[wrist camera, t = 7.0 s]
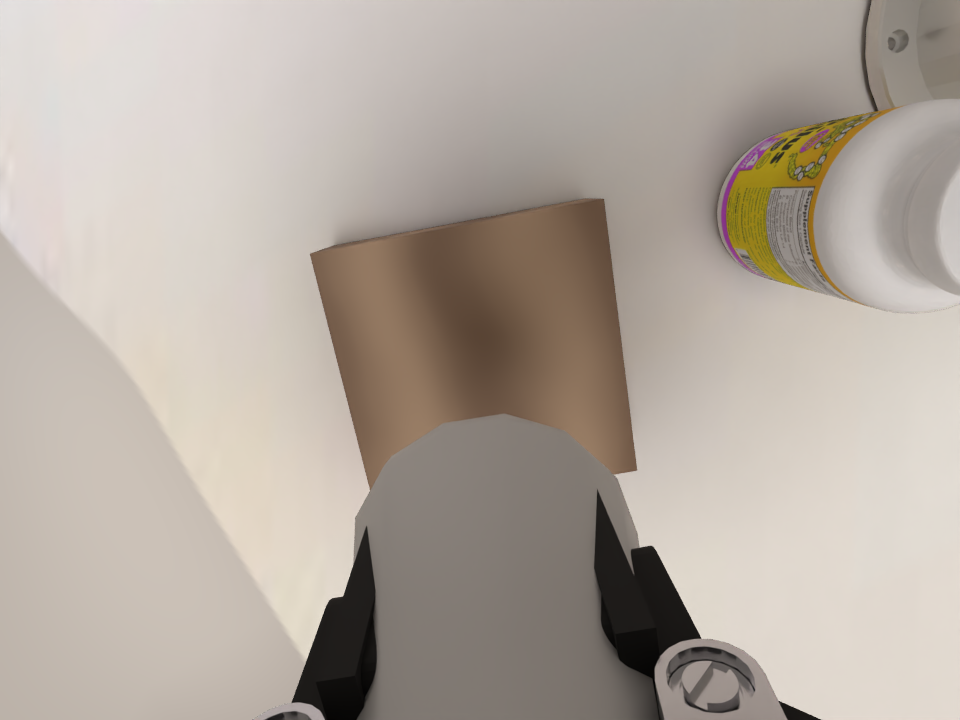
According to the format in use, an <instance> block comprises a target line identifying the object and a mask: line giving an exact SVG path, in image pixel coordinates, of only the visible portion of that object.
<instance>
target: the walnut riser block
mask: <svg viewBox="0 0 960 720" xmlns="http://www.w3.org/2000/svg"><path fill="white" fill-rule="evenodd" d="M310 256H311V260H312V264H313V268H314V272H315V276H316V280H317V283H318V287H319V291H320V295H321V299H322V303H323V307H324V311H325V315H326V319H327V323H328V327H329V331H330V334H331V338H332V342H333V346H334V350H335V354H336V358H337V362H338V366H339V370H340V374H341V378H342V382H343V385H344V389H345V393H346V397H347V401H348V405H349V409H350V413H351V417H352V421H353V425H354V429H355V433H356V436H357V440H358V444H359V448H360V452H361V456H362V460H363V464H364V468H365V472H366V476H367V480H368V484H369V487H370V490H371V488H372V487H373V485H374V483H375V481H376V479H377V478H378V476H379V474H380V472H381V470H382V468H383V467H384V465H385V464H386V463H387V461H388V460H389V459H390V457H391V456H393V455H394V454H396V453H397V452H399V451H400V450H402V449H404V448H405V447H407V446H408V445H410V444H411V443H413V442H415V441H416V440H418V439H419V438H421V437H422V436H424V435H425V434H427V433H429V432H430V431H432V430H433V429H435V428H436V427H438V426H440V425H441V424H443V423H448V422H454V421H461V420H467V419H473V418H480V417H486V416H492V415H499V414H508V415H512V416H515V417H519V418H522V419H526V420H529V421H533V422H536V423H540V424H543V425H547V426H550V427H554V428H557V429H561V430H564V431H566V432H567V433H568V434H569V435H570V436H571V437H573V438H574V439H575V440H576V441H577V442H578V443H579V444H581V445H582V446H583V447H584V448H585V449H586V450H587V451H588V452H590V453H591V454H592V455H593V456H594V457H595V458H596V459H597V460H599V461H600V462H601V463H602V464H603V465H604V466H605V467H607V468H608V469H609V470H610V471H611V473H612V474H619V473H625V472H631V471H637V466H636V458H635V450H634V442H633V434H632V425H631V417H630V409H629V401H628V393H627V384H626V376H625V368H624V360H623V352H622V343H621V335H620V327H619V319H618V311H617V302H616V294H615V286H614V278H613V270H612V262H611V253H610V245H609V237H608V229H607V221H606V212H605V204H604V199H581V200H576V201H570V202H565V203H560V204H554V205H549V206H544V207H538V208H533V209H528V210H522V211H517V212H512V213H506V214H501V215H496V216H490V217H485V218H480V219H474V220H469V221H464V222H458V223H453V224H448V225H442V226H437V227H432V228H426V229H421V230H416V231H410V232H405V233H400V234H394V235H389V236H384V237H378V238H373V239H368V240H362V241H357V242H352V243H346V244H341V245H336V246H331V247H328V248H325V249H322V250H320V251H317V252H314V253H311V254H310Z"/></svg>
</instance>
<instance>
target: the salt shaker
mask: <svg viewBox="0 0 960 720" xmlns="http://www.w3.org/2000/svg"><path fill="white" fill-rule="evenodd" d="M597 489H598V492H599V494H600V496H601V499H602V501H603V503H604V506H605V508H606V510H607V513H608V515H609V517H610V520H611V522H612V524H613V527H614V529H615V531H616V534H617V536H618V539H619V541H620V543H621V546H622V548H623V550H624V553H625V555H626V557H627V560H628V562H629V564H630V567H631V569H632V571H633V565H632V560H631V549H635V548H639V541H638V534H637V531H636V528H635V526H634V523H633V520H632V517H631V515H630V512H629V509H628V507H627V504H626V501H625V498H624V496H623V493H622V490H621V487H620V485H619V482H618V479H617V478H616V477H615V476H614V475H613V474H612V473H611V471H610V470H609V469H608V468H607V467H605V466H604V465H603V464H602V463H601V462H600V461H599V460H597V459H596V458H595V457H594V456H593V455H592V454H591V453H590V452H588V451H587V450H586V449H585V448H584V447H583V446H582V445H581V444H579V443H578V442H577V441H576V440H575V439H574V438H573V437H571V436H570V435H569V434H568V433H567V432H566V431H564V430H561V429H557V428H554V427H550V426H547V425H543V424H540V423H536V422H533V421H529V420H526V419H522V418H519V417H515V416H512V415H508V414H499V415H492V416H486V417H480V418H473V419H467V420H461V421H454V422H448V423H443V424H441V425H440V426H438V427H436V428H435V429H433V430H432V431H430V432H429V433H427V434H425V435H424V436H422V437H421V438H419V439H418V440H416V441H415V442H413V443H411V444H410V445H408V446H407V447H405V448H404V449H402V450H400V451H399V452H397V453H396V454H394V455H393V456H391V457H390V459H389V460H388V461H387V463H386V464H385V465H384V467H383V468H382V470H381V472H380V474H379V476H378V478H377V479H376V481H375V483H374V485H373V487H372V488H371V490H370V492H369V494H368V496H367V498H366V499H365V501H364V503H363V505H362V507H361V509H360V510H359V512H358V514H357V516H356V518H355V540H354V562H355V559H356V556H357V553H358V550H359V546H360V543H361V540H362V537H363V534H364V531H365V528H366V526H367V529H368V537H369V544H370V552H371V559H372V567H373V574H374V582H375V589H376V593H375V603H374V612H373V620H374V628H375V637H376V645H377V664H376V673H375V676H374V679H373V682H372V684H371V687H370V689H369V691H368V693H367V694H366V696H365V702H364V708H363V710H362V711H361V713H360V715H359V716H358V718H357V720H659V715H658V709H657V703H656V697H655V692H654V686H653V680H652V678H650V677H648V676H646V675H644V674H642V673H640V672H638V671H636V670H634V669H631V668H629V667H627V666H626V665H625V664H623V663H622V662H621V661H620V660H619V657H618V654H617V650H616V649H615V648H614V646H613V645H612V644H611V643H610V641H609V640H608V638H607V637H606V635H605V633H604V631H603V628H602V625H601V591H600V588H599V584H598V581H597V577H596V573H595V570H594V555H595V530H596V505H597ZM633 574H634V571H633Z"/></svg>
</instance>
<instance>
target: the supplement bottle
mask: <svg viewBox="0 0 960 720" xmlns="http://www.w3.org/2000/svg"><path fill="white" fill-rule="evenodd" d="M717 221H718V227H719V231H720V235H721V238H722V241H723V243H724V245H725V247H726V249H727V250H728V252H729V253H730V255H731V256H732V257H733V259H734V260H735V261H736V262H738V263H739V264H740V265H741V266H742V267H744V268H745V269H747V270H748V271H750V272H752V273H754V274H757V275H759V276H762V277H764V278H768V279H771V280H775V281H778V282H781V283H785V284H789V285H793V286H796V287H800V288H804V289H808V290H812V291H815V292H819V293H823V294H826V295H830V296H834V297H837V298H841V299H845V300H848V301H852V302H855V303H859V304H862V305H865V306H869V307H873V308H877V309H880V310H884V311H889V312H896V313H911V314H914V313H927V312H933V311H938V310H943V309H947V308H950V307H953V306H956V305H958V304H960V99H935V100H928V101H923V102H917V103H913V104H909V105H904V106H900V107H895V108H891V109H886V110H881V111H877V112H871V113H866V114H861V115H856V116H852V117H848V118H843V119H838V120H832V121H828V122H824V123H820V124H815V125H810V126H806V127H801V128H797V129H792V130H789V131H785V132H781V133H778V134H775V135H772V136H770V137H768V138H766V139H764V140H762V141H761V142H759V143H757V144H756V145H754V146H753V147H752V148H751V149H749V150H748V151H747V152H746V153H745V154H744V155H743V156H742V157H741V158H740V159H739V160H738V161H737V162H736V164H735V165H734V166H733V168H732V169H731V171H730V172H729V174H728V176H727V177H726V180H725V182H724V184H723V186H722V189H721V192H720V196H719V200H718V208H717Z"/></svg>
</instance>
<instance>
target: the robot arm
mask: <svg viewBox="0 0 960 720" xmlns="http://www.w3.org/2000/svg"><path fill="white" fill-rule="evenodd" d="M887 42H888V44H887ZM888 45H889V46H888ZM865 59H866V65H867V72H868V79H869V86H870V89H871V92H872V94H873V97H874V100H875V103H876V106H877V108H878V111H881V110H886V109H891V108H895V107H900V106H904V105H909V104H913V103H917V102H923V101H928V100H935V99H960V0H872V2H871V7H870V12H869V17H868V22H867V26H866V52H865ZM631 560H632V565H633V571H634V574H633V571H632V569H631V567H630V564H629V562H628V560H627V557H626V555H625V553H624V550H623V548H622V546H621V543H620V541H619V539H618V536H617V534H616V531H615V529H614V527H613V524H612V522H611V520H610V517H609V515H608V513H607V510H606V508H605V506H604V503H603V501H602V499H601V496H600V494H599V492H598V489H597V505H596V530H595V555H594V570H595V573H596V577H597V581H598V584H599V588H600V591H601V625H602V628H603V631H604V633H605V635H606V637H607V638H608V640H609V641H610V643H611V644H612V645H613V646H614V648H615V649H616V650H617V654H618V657H619V660H620V661H621V662H622V663H623V664H625V665H626V666H627V667H629V668H631V669H634V670H636V671H638V672H640V673H642V674H644V675H646V676H648V677H650V678H652V680H653V686H654V692H655V697H656V703H657V709H658V715H659V720H821V719H818V718H816V717H814V716H812V715H809V714H807V713H805V712H803V711H800V710H798V709H796V708H794V707H791V706H789V705H787V704H785V703H782V702H780V701H778V699H777V697H776V695H775V693H774V691H773V689H772V687H771V685H770V683H769V681H768V679H767V676H766V674H765V673H764V671H763V670H762V668H761V667H760V665H759V664H758V663H757V661H756V660H755V659H753V658H752V657H751V656H750V655H748V654H747V653H746V652H745V651H743V650H741V649H739V648H737V647H735V646H733V645H731V644H729V643H726V642H721V641H717V640H713V639H701V637H700V635H699V633H698V631H697V629H696V627H695V625H694V623H693V621H692V619H691V617H690V615H689V613H688V612H687V610H686V608H685V606H684V604H683V602H682V600H681V598H680V596H679V594H678V592H677V590H676V588H675V586H674V584H673V583H672V581H671V579H670V577H669V575H668V573H667V571H666V569H665V567H664V565H663V563H662V561H661V559H660V557H659V555H658V554H657V552H656V550H655V549H654V547H653V546H647V547H641V548H635V549H631ZM375 593H376V589H375V582H374V574H373V567H372V559H371V552H370V544H369V537H368V529H367V526H366V528H365V531H364V534H363V537H362V540H361V543H360V546H359V550H358V553H357V556H356V559H355V562H354V565H353V568H352V571H351V574H350V577H349V580H348V583H347V587H346V590H345V593H344V596H343V597H338V598H332V599H331V600H329V602H328V604H327V606H326V608H325V611H324V614H323V617H322V619H321V622H320V625H319V628H318V631H317V633H316V636H315V639H314V642H313V645H312V647H311V650H310V653H309V656H308V658H307V661H306V664H305V667H304V670H303V672H302V675H301V678H300V681H299V684H298V686H297V689H296V692H295V695H294V698H293V700H292V703H289V704H284V705H281V706H278V707H275V708H272V709H269V710H268V711H266V712H264V713H262V714H261V715H259V716H257V717H255V718H254V719H253V720H357V718H358V716H359V715H360V713H361V711H362V710H363V708H364V702H365V696H366V694H367V693H368V691H369V689H370V687H371V684H372V682H373V679H374V676H375V673H376V664H377V645H376V637H375V628H374V620H373V612H374V603H375Z"/></svg>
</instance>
